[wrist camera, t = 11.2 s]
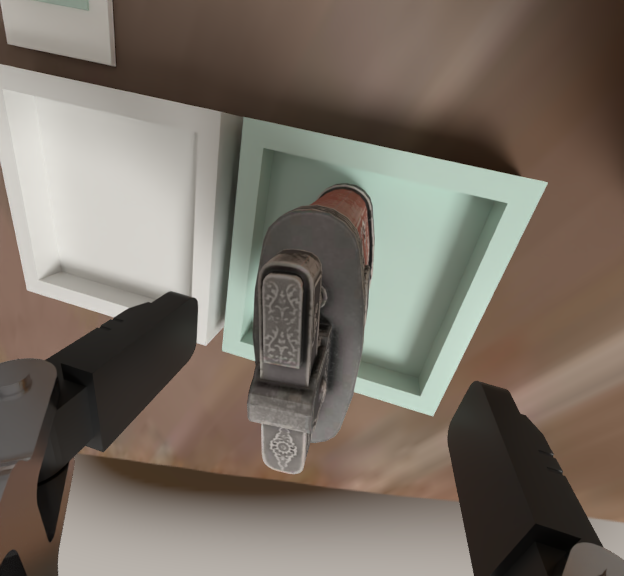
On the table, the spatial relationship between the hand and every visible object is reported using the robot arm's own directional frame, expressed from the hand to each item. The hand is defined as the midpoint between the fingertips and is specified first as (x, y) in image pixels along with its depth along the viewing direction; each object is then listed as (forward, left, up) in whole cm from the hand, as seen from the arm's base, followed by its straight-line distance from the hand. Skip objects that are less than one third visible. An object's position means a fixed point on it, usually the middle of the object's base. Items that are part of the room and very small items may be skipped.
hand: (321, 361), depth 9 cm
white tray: (0, -13, -9) cm, 16 cm away
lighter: (0, -1, -8) cm, 8 cm away
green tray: (0, 0, -9) cm, 9 cm away
